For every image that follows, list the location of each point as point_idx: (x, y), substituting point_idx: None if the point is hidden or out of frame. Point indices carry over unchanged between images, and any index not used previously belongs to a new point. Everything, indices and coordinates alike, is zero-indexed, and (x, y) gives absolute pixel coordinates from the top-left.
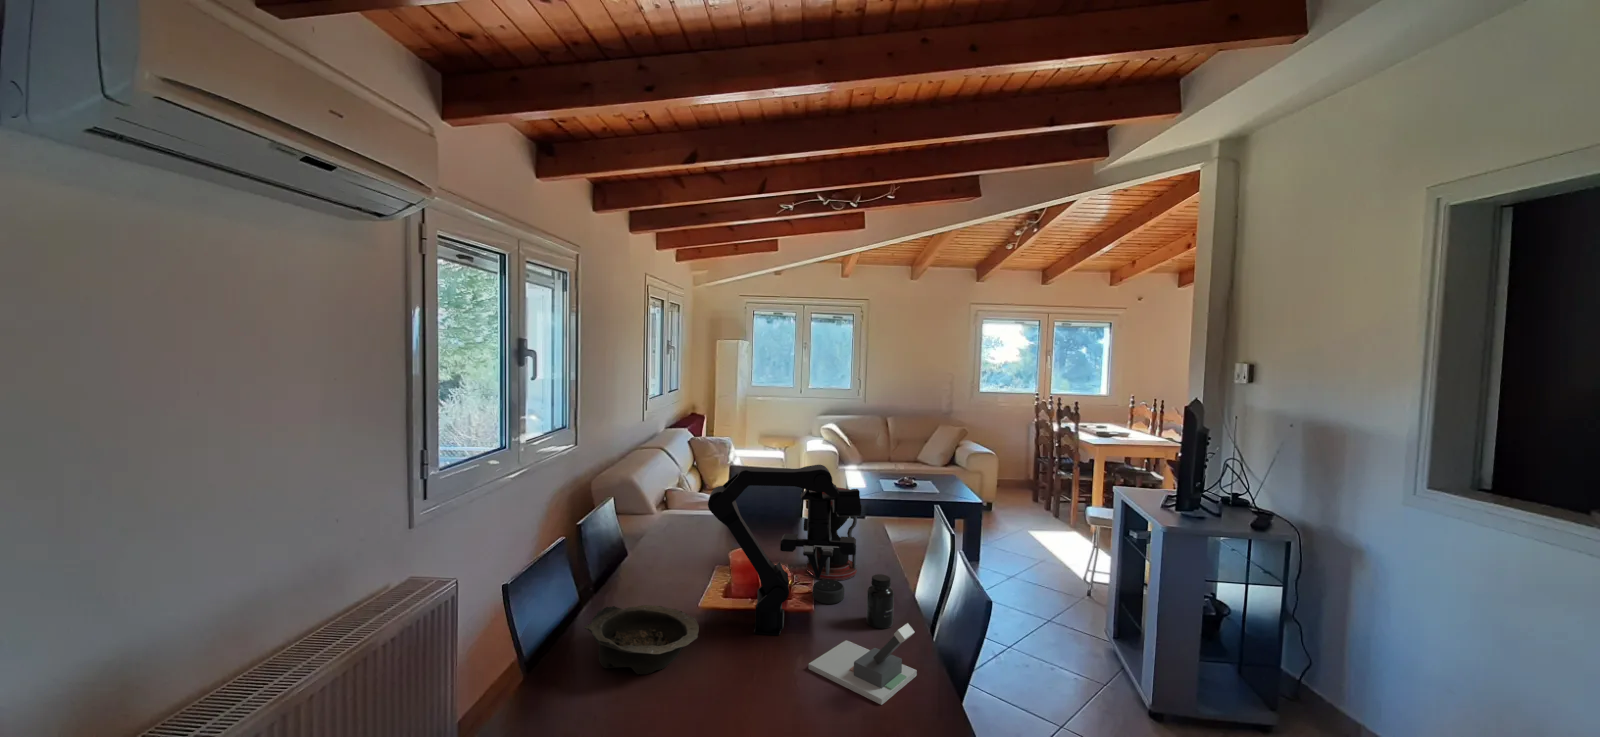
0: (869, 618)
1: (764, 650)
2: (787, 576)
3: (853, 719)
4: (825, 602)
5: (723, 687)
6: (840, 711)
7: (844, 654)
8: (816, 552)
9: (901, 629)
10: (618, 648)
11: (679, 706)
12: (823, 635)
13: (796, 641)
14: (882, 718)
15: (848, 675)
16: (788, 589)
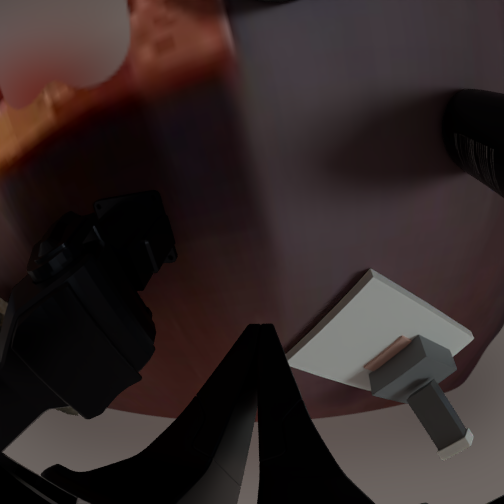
0: (458, 160)
1: (174, 315)
2: (91, 328)
3: (352, 410)
4: (273, 1)
5: (170, 387)
6: (338, 406)
7: (361, 330)
8: (198, 485)
9: (450, 455)
10: (58, 408)
11: (148, 403)
12: (304, 230)
13: (231, 273)
14: (388, 403)
15: (359, 375)
16: (148, 360)
